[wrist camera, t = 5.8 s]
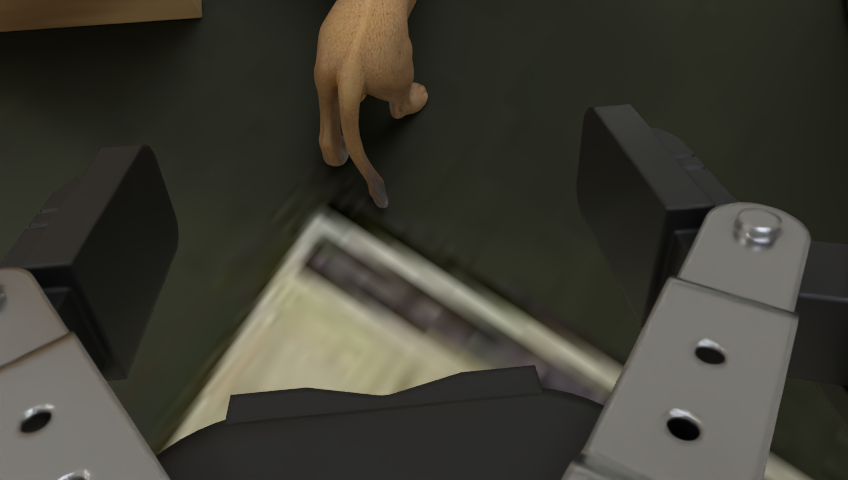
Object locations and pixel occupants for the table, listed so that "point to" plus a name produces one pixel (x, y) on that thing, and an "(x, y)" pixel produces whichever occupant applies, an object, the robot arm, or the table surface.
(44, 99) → the table surface
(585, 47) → the table surface
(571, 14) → the table surface
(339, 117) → the lion figurine
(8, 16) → the rack
